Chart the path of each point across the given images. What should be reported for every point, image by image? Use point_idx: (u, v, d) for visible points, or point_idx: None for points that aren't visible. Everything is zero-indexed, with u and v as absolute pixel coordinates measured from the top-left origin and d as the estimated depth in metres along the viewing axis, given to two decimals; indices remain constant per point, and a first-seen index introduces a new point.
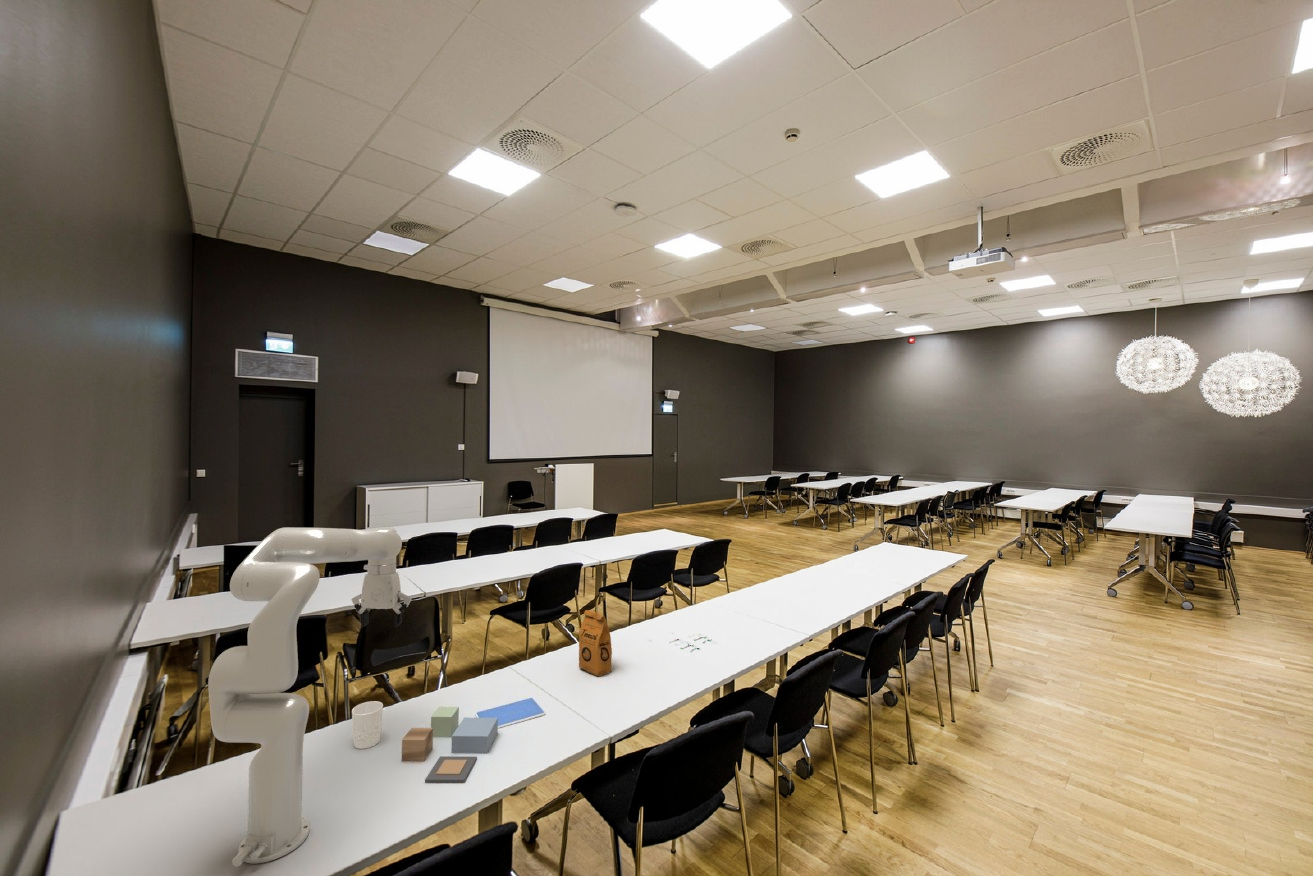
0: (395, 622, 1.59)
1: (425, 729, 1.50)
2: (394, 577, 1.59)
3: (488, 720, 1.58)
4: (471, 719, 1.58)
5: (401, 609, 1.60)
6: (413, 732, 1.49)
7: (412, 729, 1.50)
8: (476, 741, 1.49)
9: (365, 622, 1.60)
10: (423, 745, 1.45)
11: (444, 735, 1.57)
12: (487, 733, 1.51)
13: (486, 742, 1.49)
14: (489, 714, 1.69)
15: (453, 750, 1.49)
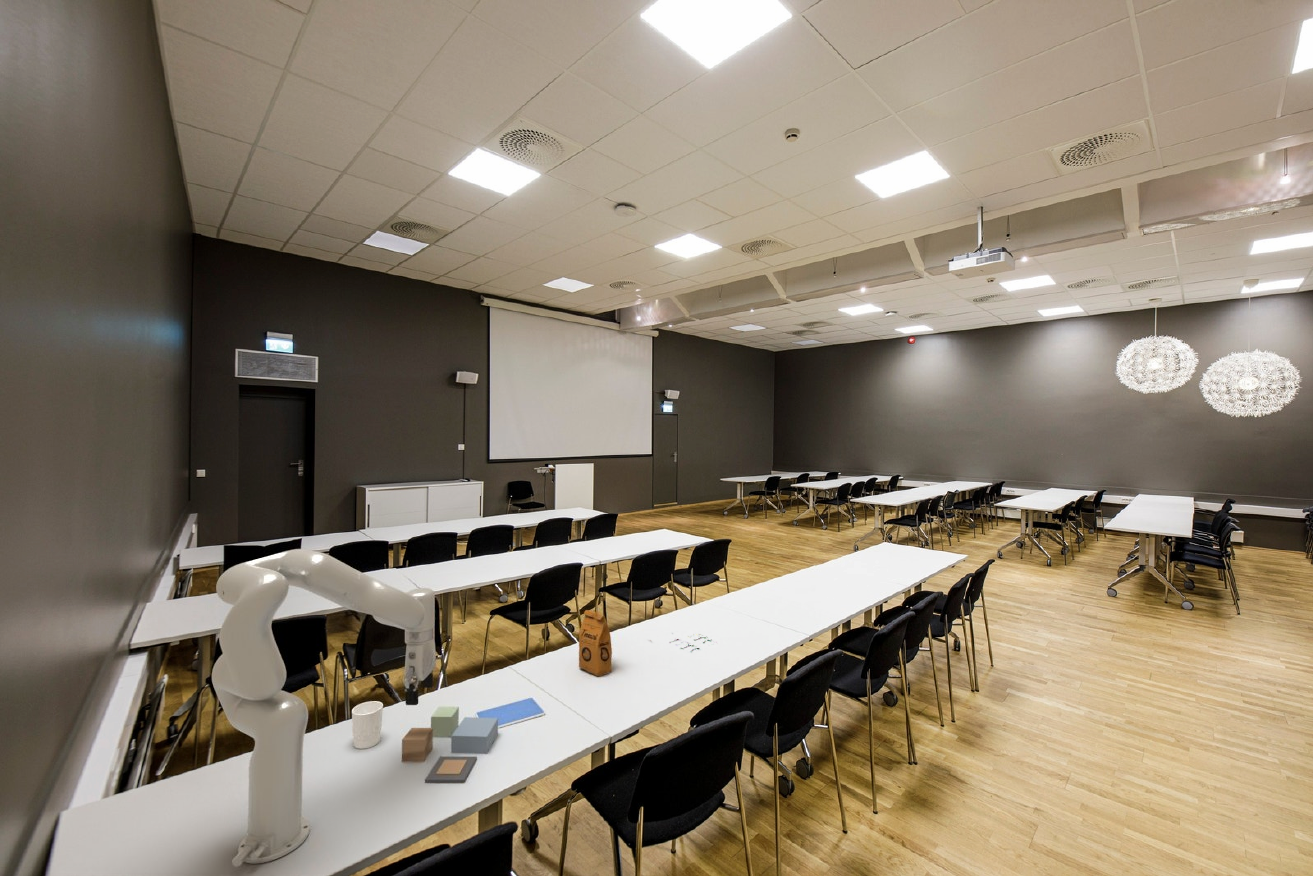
0: (432, 682, 1.53)
1: (425, 729, 1.50)
2: None
3: (488, 720, 1.58)
4: (471, 719, 1.58)
5: None
6: (413, 732, 1.49)
7: (412, 729, 1.50)
8: (475, 741, 1.49)
9: None
10: (423, 745, 1.45)
11: (444, 735, 1.57)
12: (487, 733, 1.50)
13: (485, 742, 1.49)
14: (489, 714, 1.69)
15: (453, 750, 1.49)
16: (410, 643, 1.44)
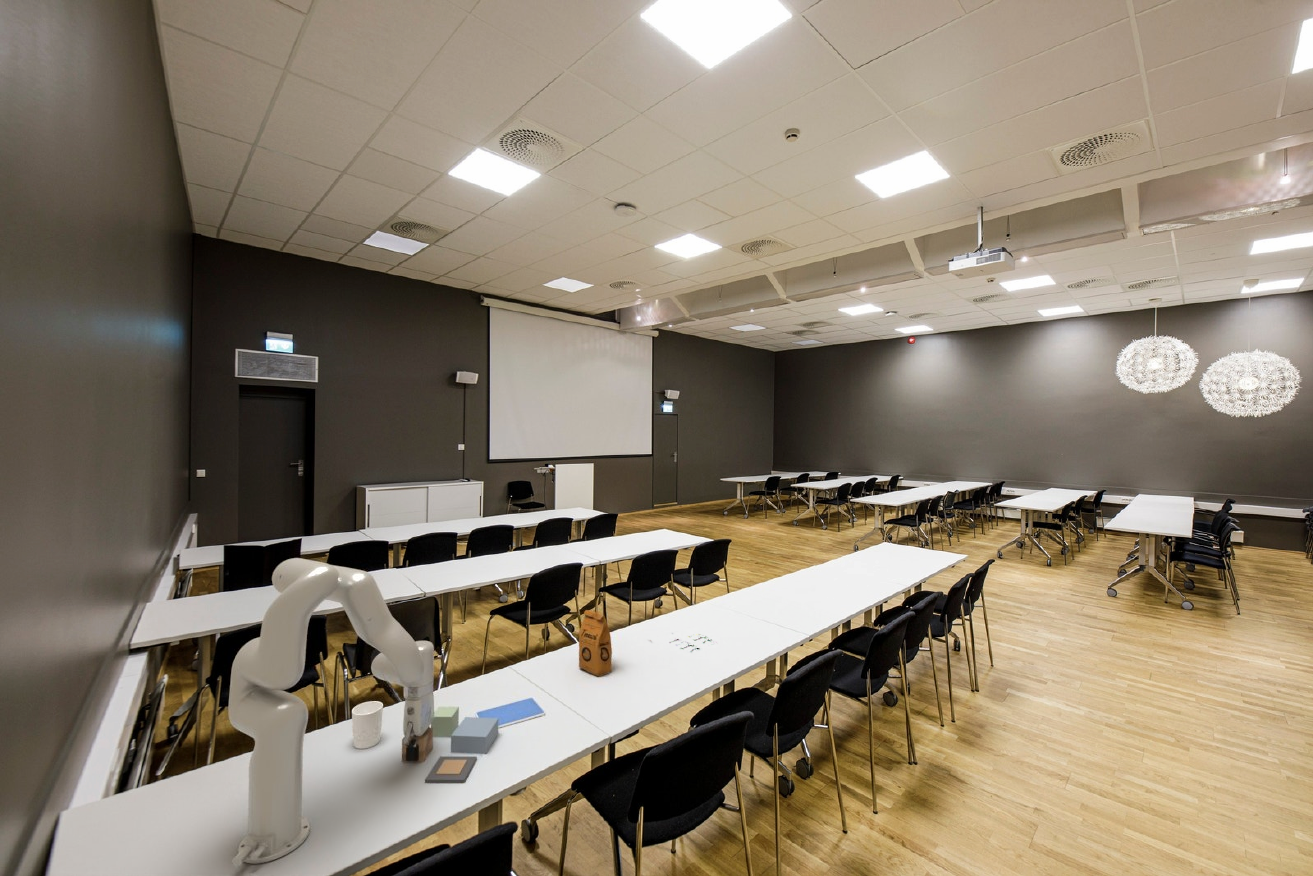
0: None
1: None
2: None
3: (488, 720, 1.57)
4: (472, 719, 1.58)
5: None
6: (413, 732, 1.49)
7: None
8: (474, 741, 1.49)
9: None
10: (423, 745, 1.45)
11: (444, 735, 1.57)
12: (486, 734, 1.50)
13: (485, 743, 1.49)
14: (489, 714, 1.69)
15: (452, 749, 1.49)
16: (409, 698, 1.44)
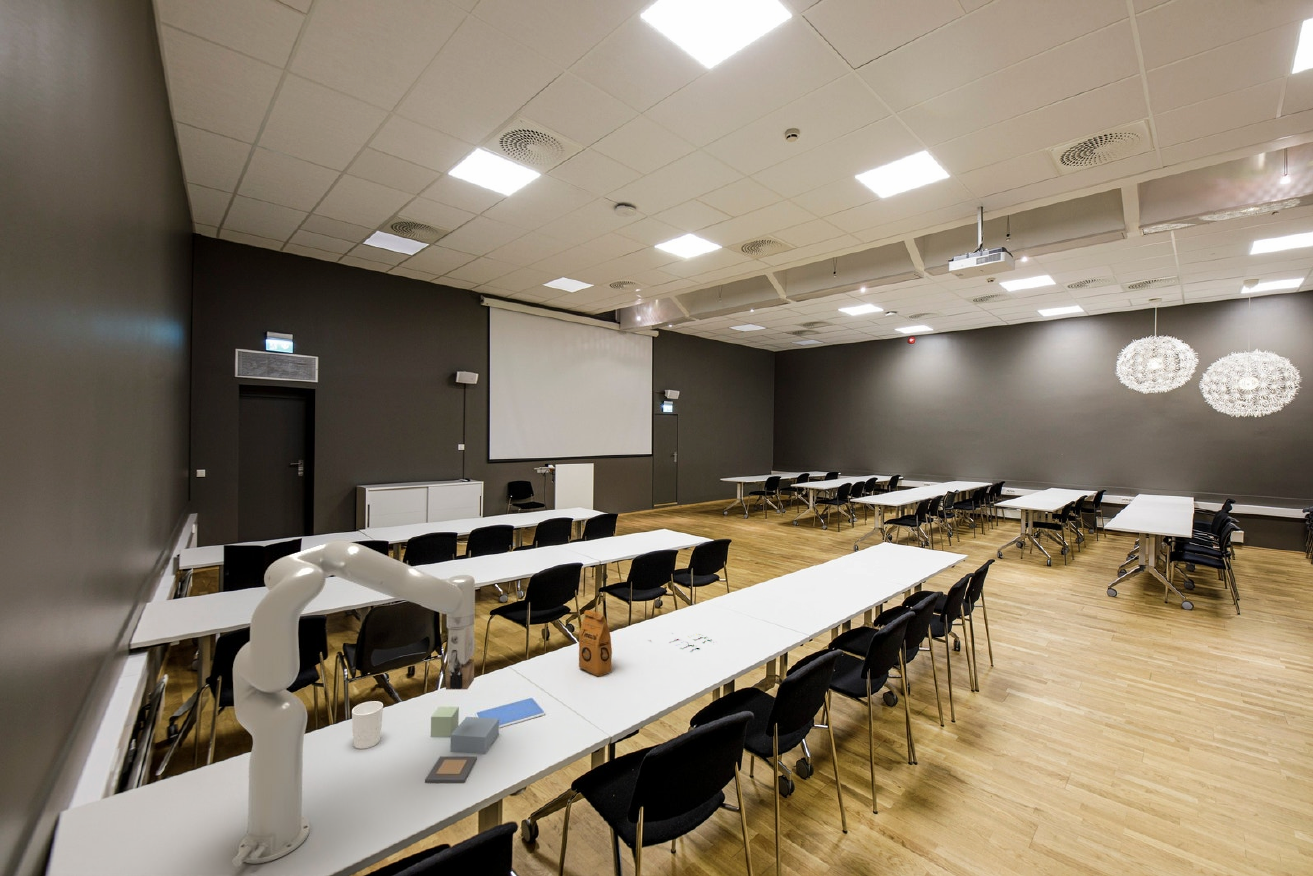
0: None
1: None
2: None
3: (489, 721, 1.57)
4: (473, 719, 1.58)
5: None
6: (456, 662, 1.53)
7: None
8: (474, 741, 1.49)
9: None
10: (466, 673, 1.50)
11: (444, 735, 1.57)
12: (485, 734, 1.50)
13: (484, 743, 1.49)
14: (489, 714, 1.69)
15: (452, 749, 1.49)
16: (452, 628, 1.49)
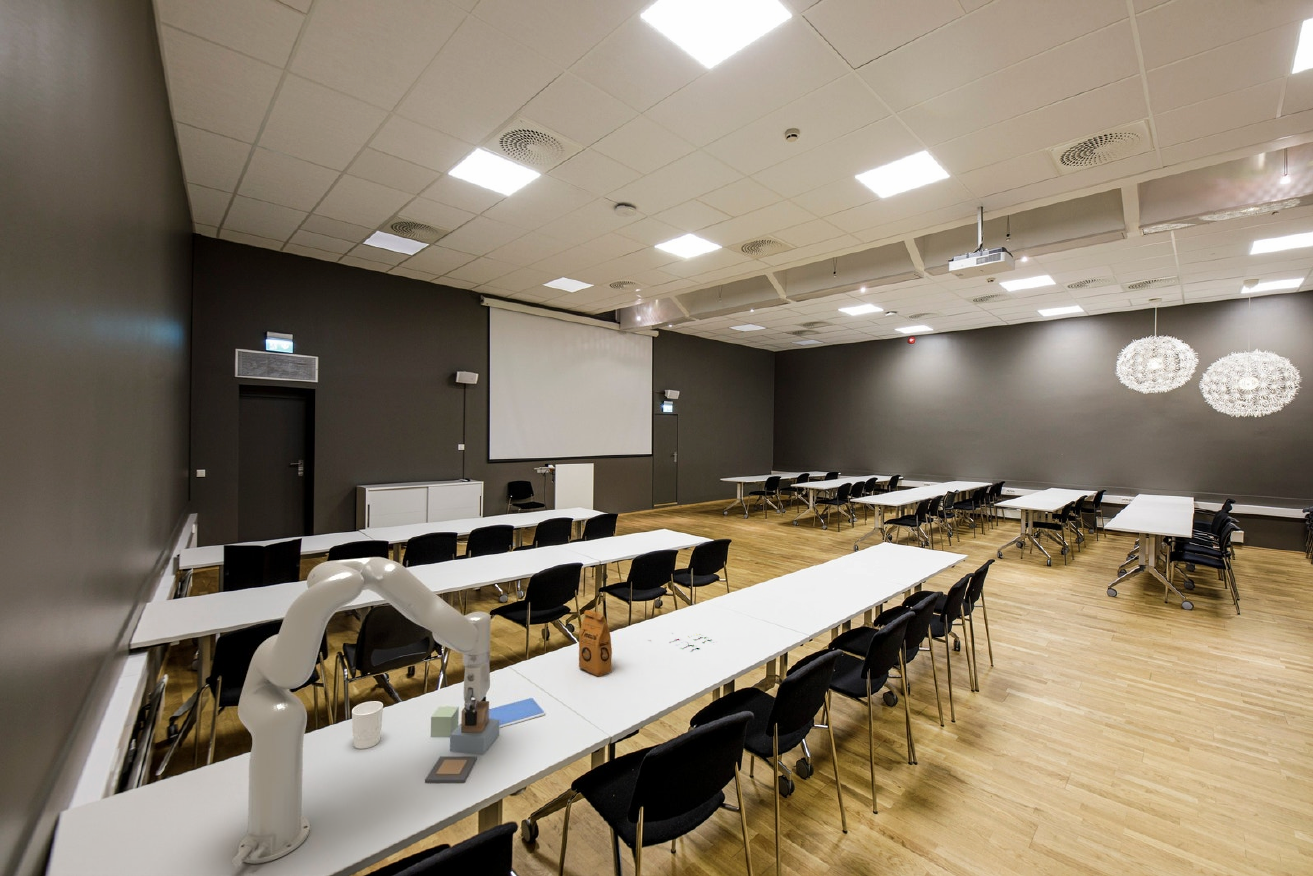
0: None
1: (482, 702, 1.56)
2: None
3: (489, 721, 1.57)
4: None
5: None
6: (471, 704, 1.55)
7: None
8: (473, 742, 1.49)
9: None
10: (482, 716, 1.51)
11: (444, 735, 1.57)
12: (484, 734, 1.50)
13: (482, 743, 1.49)
14: (489, 714, 1.69)
15: (451, 749, 1.50)
16: (468, 665, 1.51)
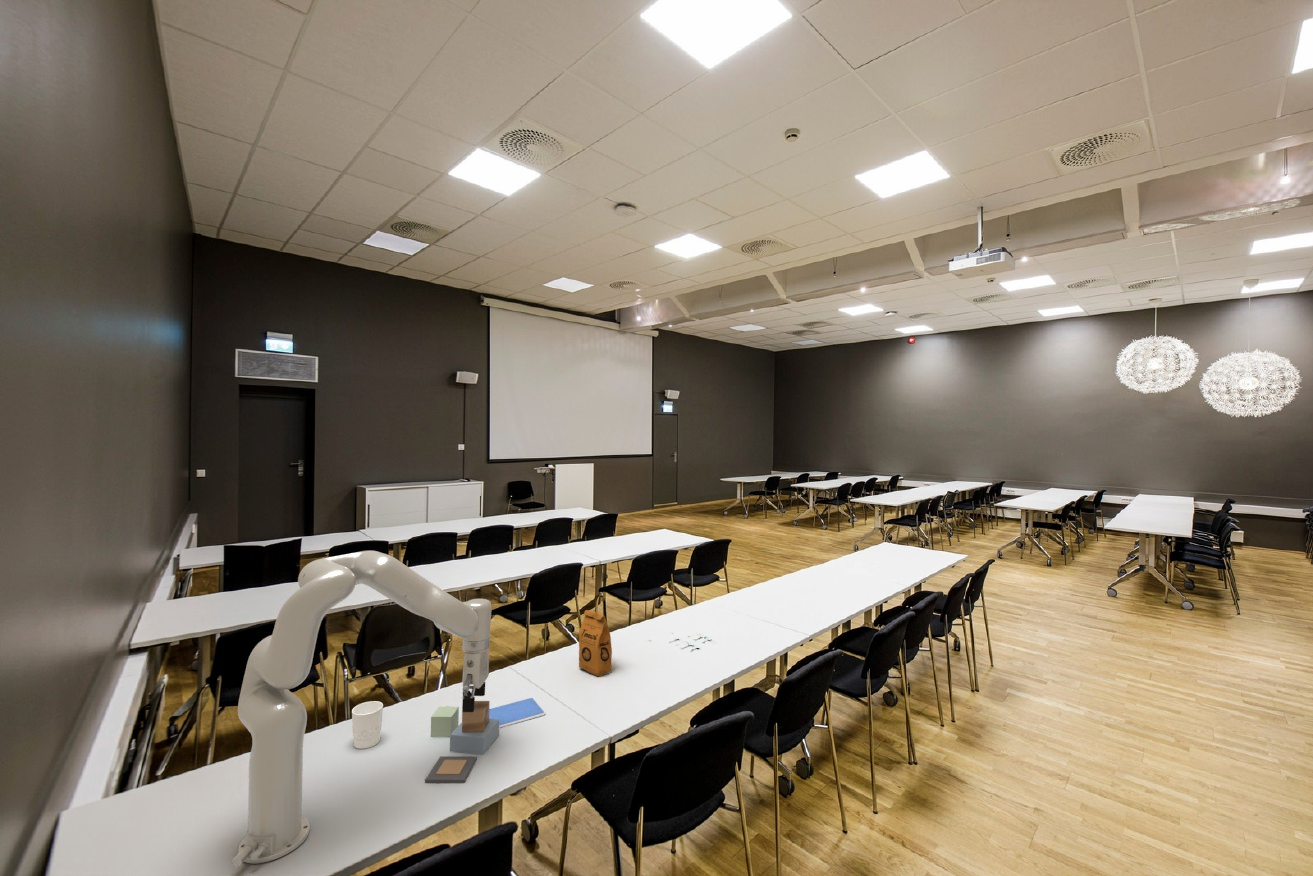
0: (484, 690, 1.59)
1: (482, 702, 1.56)
2: None
3: (489, 721, 1.57)
4: None
5: None
6: None
7: None
8: (472, 742, 1.49)
9: None
10: (482, 716, 1.51)
11: (444, 735, 1.57)
12: (484, 734, 1.50)
13: (482, 744, 1.48)
14: (489, 714, 1.69)
15: (451, 749, 1.50)
16: (468, 651, 1.50)
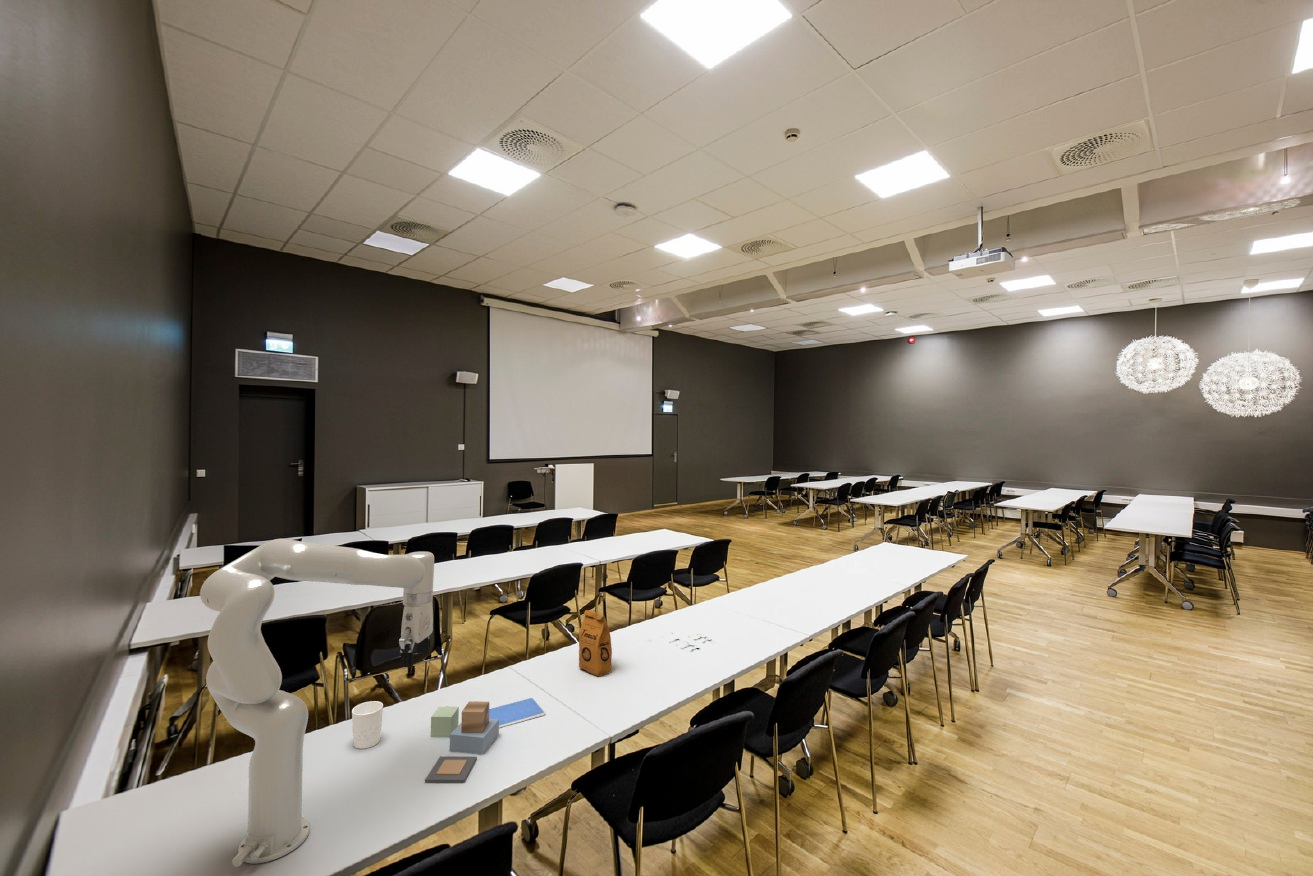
0: (428, 648, 1.52)
1: (482, 702, 1.56)
2: None
3: (489, 721, 1.57)
4: None
5: None
6: (471, 705, 1.54)
7: (470, 702, 1.56)
8: (472, 741, 1.49)
9: None
10: (482, 717, 1.51)
11: (444, 735, 1.57)
12: (484, 734, 1.50)
13: (482, 743, 1.49)
14: (489, 714, 1.69)
15: (451, 748, 1.50)
16: (408, 604, 1.44)
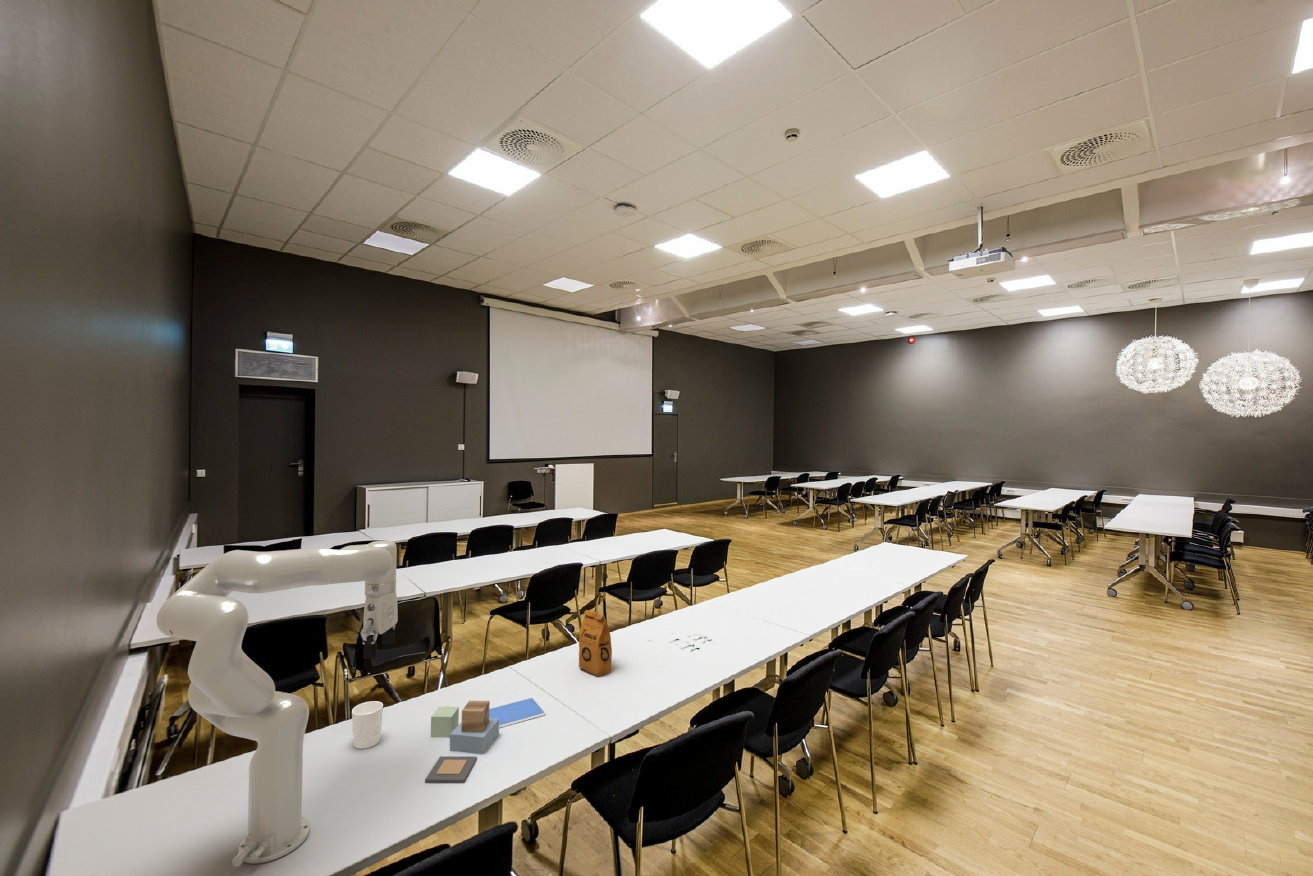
0: (393, 638, 1.49)
1: (482, 702, 1.56)
2: None
3: (489, 720, 1.57)
4: None
5: None
6: (472, 704, 1.55)
7: (470, 702, 1.56)
8: (472, 741, 1.49)
9: None
10: (482, 716, 1.51)
11: (444, 735, 1.57)
12: (484, 734, 1.50)
13: (482, 743, 1.49)
14: (489, 714, 1.69)
15: (451, 748, 1.50)
16: (369, 595, 1.40)
